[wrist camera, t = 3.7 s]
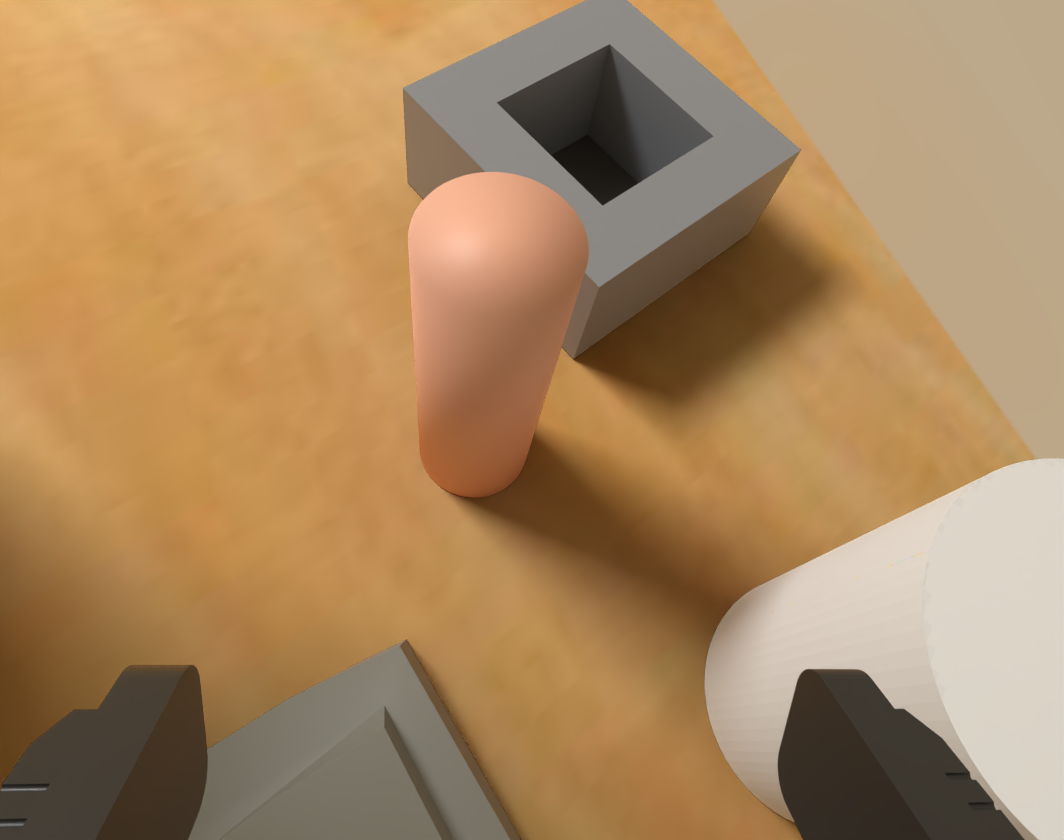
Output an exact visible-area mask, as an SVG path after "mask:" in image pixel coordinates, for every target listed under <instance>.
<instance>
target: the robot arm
mask: <svg viewBox="0 0 1064 840" xmlns="http://www.w3.org/2000/svg"><path fill="white" fill-rule="evenodd" d="M207 770H208V755H207V745H206V735H205V725H204V715H203V705H202V696H201V686H200V677H199V673H198V670H197V668H196V667H195V666H193V665H131V666H129V667H127V668H126V669H125V670H124V671H123V672H122V673H121V675H120V676H119V678H118V679H117V681H116V682H115V684H114V685H113V687H112V689H111V690H110V692H109V693H108V695H107V696H106V698H105V699H104V701H103V702H102V704H101V706H100V707H99V709H98V710H73V711H72V712H71V713H69V714H68V715H67V716H66V717H64V718H63V719H62V720H60V721H59V722H58V723H57V724H55V725H54V726H53V727H52V728H50V729H49V730H48V731H47V732H45V733H44V734H43V735H41V736H40V737H39V738H38V739H36V740H35V741H34V742H33V743H31V745H30V746H29V747H28V749H27V750H26V752H25V753H24V754H23V756H22V757H21V758H20V760H19V761H18V763H17V764H16V765H15V767H14V768H13V770H12V771H11V772H10V774H9V775H8V776H7V778H6V779H5V781H4V782H3V783H2V788H1V791H0V840H188V839H189V836H190V834H191V831H192V829H193V826H194V823H195V821H196V818H197V816H198V813H199V810H200V807H201V804H202V800H203V796H204V791H205V786H206V780H207ZM778 777H779V784H780V788H781V792H782V795H783V798H784V801H785V803H786V806H787V808H788V810H789V812H790V814H791V816H792V818H793V820H794V822H795V824H796V826H797V828H798V830H799V832H800V834H801V836H802V838H803V840H1025V839H1024V838H1023V837H1022V836H1021V834H1020V833H1019V832H1018V831H1017V829H1016V828H1015V827H1014V826H1013V825H1012V823H1011V822H1010V821H1009V820H1008V818H1007V817H1006V816H1005V815H1004V813H1003V812H1002V811H1001V810H996V809H995V807H994V801H993V800H992V799H991V797H990V796H989V795H988V794H987V793H986V791H985V790H984V789H983V788H982V786H981V785H980V784H979V783H978V782H977V780H972V779H971V777H970V772H969V770H968V769H967V768H966V767H965V766H964V764H963V763H962V762H961V761H960V759H959V758H958V757H957V756H956V754H955V753H954V752H953V751H952V750H951V748H950V747H949V746H948V745H947V743H946V742H945V741H944V740H943V738H942V737H940V736H939V735H938V734H936V733H935V732H934V731H932V730H931V729H930V728H929V727H927V726H926V725H925V724H923V723H922V722H921V721H919V720H918V719H917V718H915V717H914V716H913V715H912V714H910V713H909V712H908V711H906V710H905V709H895V708H894V707H893V706H892V704H891V703H890V702H889V701H888V699H887V698H886V697H885V695H884V694H883V693H882V692H881V690H880V689H879V688H878V686H877V685H876V684H875V682H874V681H873V680H872V679H871V677H870V676H869V675H868V674H867V673H865V672H864V671H862V670H859V669H806V670H804V671H803V672H802V673H801V674H800V676H799V678H798V680H797V684H796V687H795V691H794V695H793V699H792V703H791V707H790V711H789V714H788V718H787V722H786V726H785V730H784V734H783V737H782V741H781V745H780V749H779V754H778Z"/></svg>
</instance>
